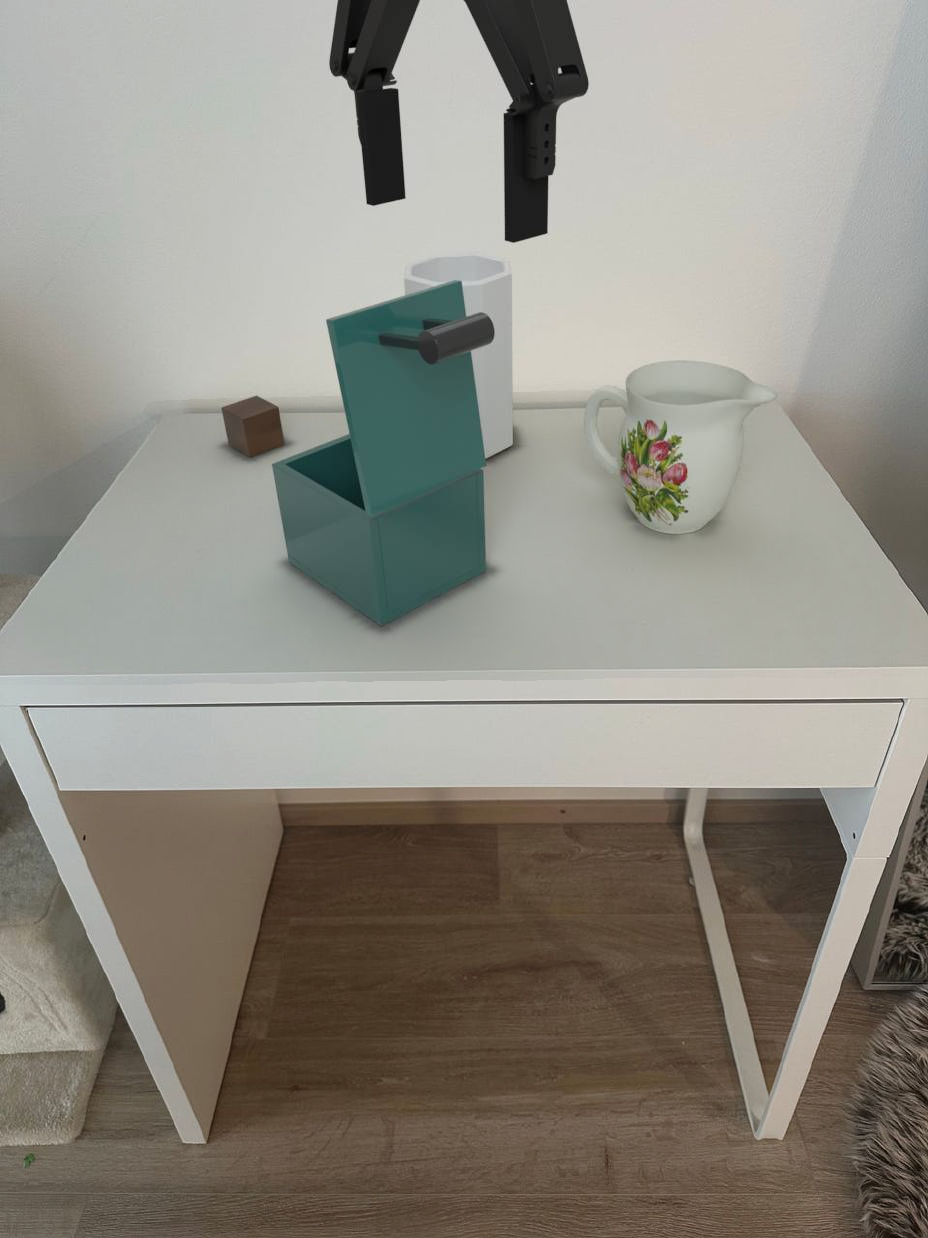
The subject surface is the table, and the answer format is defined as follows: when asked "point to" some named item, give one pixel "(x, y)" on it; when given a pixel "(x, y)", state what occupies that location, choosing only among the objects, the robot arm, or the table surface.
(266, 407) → the block
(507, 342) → the cup
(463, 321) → the lid
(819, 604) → the table surface
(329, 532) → the tin
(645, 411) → the pitcher
